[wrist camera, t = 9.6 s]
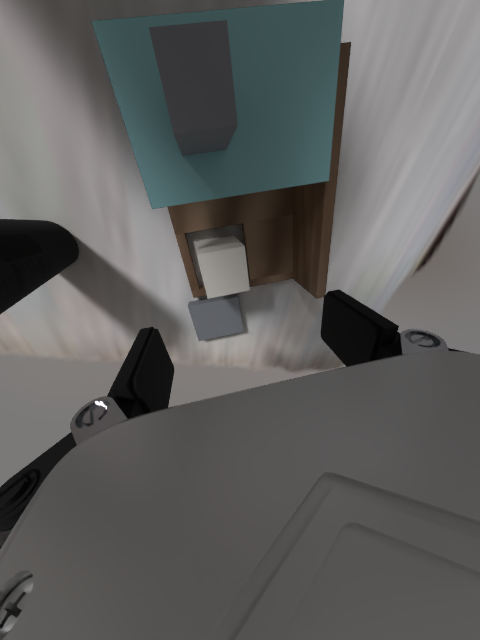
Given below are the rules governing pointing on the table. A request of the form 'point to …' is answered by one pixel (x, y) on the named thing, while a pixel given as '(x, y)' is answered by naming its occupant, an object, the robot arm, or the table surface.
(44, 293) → the table surface
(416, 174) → the table surface
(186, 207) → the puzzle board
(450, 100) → the table surface
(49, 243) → the drinking cup
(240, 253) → the block
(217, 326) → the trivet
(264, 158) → the cover
